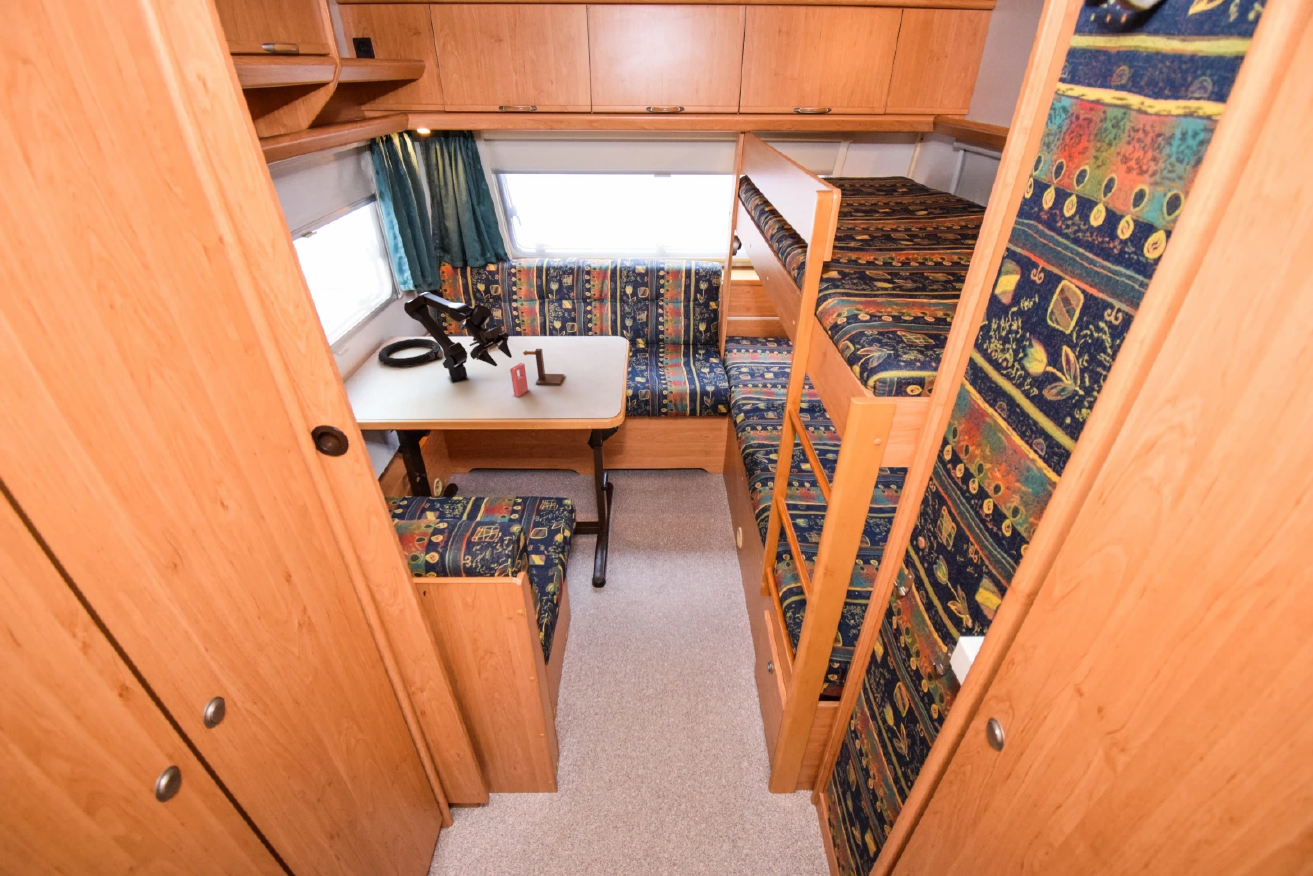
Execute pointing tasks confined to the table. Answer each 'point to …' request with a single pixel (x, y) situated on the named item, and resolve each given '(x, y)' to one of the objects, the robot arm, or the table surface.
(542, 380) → the stand
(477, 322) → the robot arm
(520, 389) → the pink tunnel block
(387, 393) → the table surface
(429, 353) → the ring
